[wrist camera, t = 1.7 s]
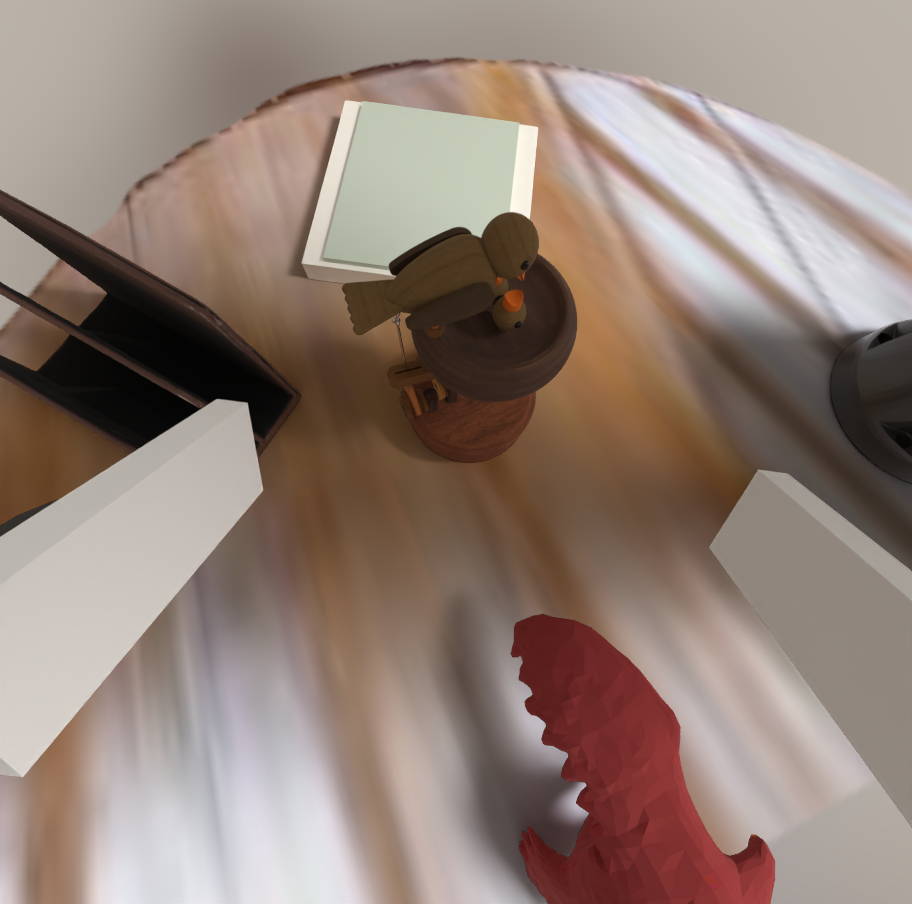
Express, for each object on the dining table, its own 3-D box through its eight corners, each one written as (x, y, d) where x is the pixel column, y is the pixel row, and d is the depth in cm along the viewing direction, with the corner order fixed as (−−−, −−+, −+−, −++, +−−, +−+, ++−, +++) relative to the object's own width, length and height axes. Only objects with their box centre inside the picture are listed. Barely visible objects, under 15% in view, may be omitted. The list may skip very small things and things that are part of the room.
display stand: (533, 147, 41) (539, 121, 38) (518, 306, 36) (523, 289, 33) (350, 121, 40) (344, 94, 38) (309, 278, 36) (299, 259, 33)
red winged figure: (671, 979, 27) (967, 1085, 18) (643, 1199, 20) (1106, 1552, 11) (472, 620, 33) (624, 565, 24) (394, 693, 26) (569, 653, 17)
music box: (442, 503, 31) (413, 390, 12) (372, 405, 34) (257, 185, 15) (582, 404, 33) (744, 180, 14) (506, 320, 36) (557, 40, 17)
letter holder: (124, 296, 35) (-83, 132, 21) (305, 396, 33) (209, 290, 19) (43, 382, 32) (-249, 262, 19) (234, 496, 31) (67, 455, 17)
